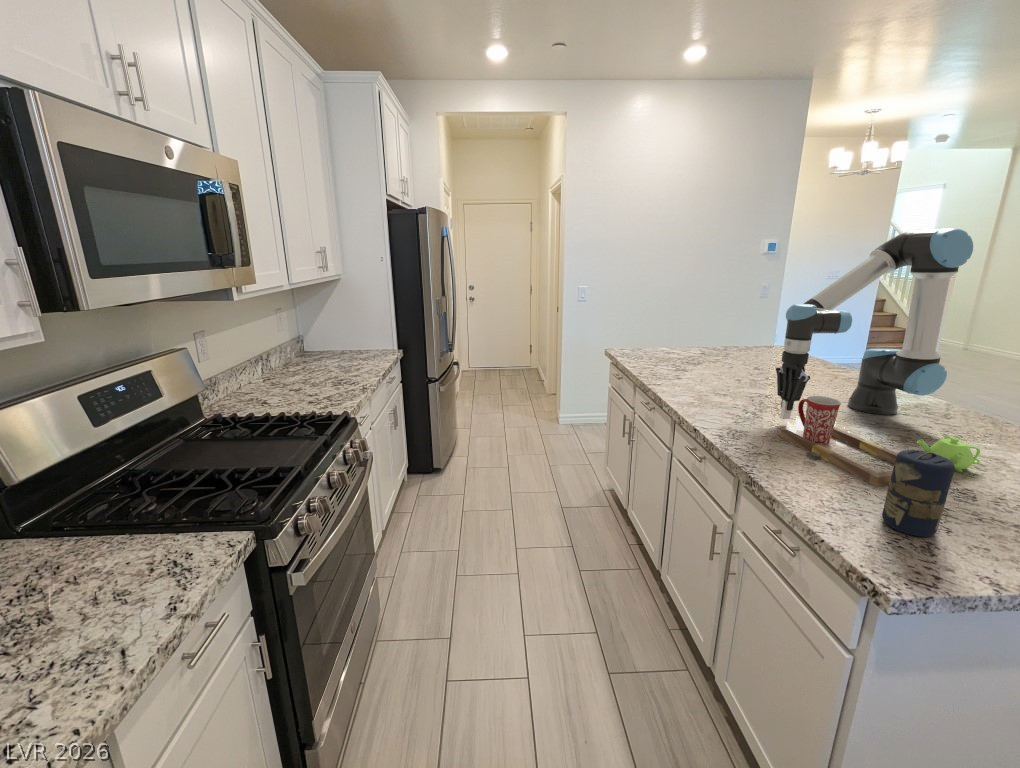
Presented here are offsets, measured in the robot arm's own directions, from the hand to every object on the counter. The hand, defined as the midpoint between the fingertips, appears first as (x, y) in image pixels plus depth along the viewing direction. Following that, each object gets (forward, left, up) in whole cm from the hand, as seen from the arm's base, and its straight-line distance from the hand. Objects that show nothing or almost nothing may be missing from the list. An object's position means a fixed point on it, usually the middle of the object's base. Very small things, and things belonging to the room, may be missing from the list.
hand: (785, 418), depth 164 cm
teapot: (-20, +37, -3) cm, 42 cm away
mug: (0, +12, -3) cm, 12 cm away
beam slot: (0, +25, -2) cm, 25 cm away
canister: (+20, +60, -3) cm, 63 cm away
